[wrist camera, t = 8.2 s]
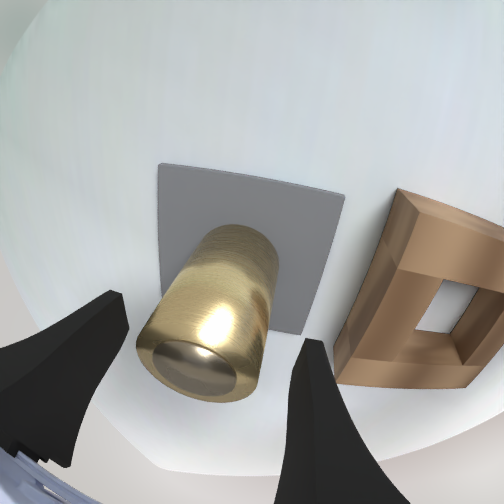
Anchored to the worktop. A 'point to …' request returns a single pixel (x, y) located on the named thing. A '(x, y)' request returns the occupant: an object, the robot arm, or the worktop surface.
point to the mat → (254, 216)
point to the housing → (424, 300)
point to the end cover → (214, 318)
